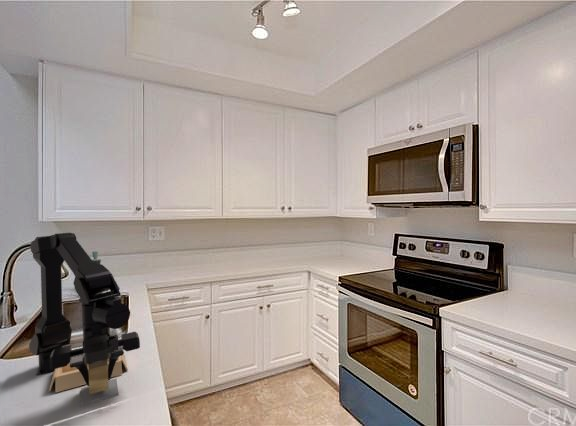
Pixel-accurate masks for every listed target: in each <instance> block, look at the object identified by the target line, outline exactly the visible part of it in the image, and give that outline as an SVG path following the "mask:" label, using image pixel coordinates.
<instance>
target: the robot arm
mask: <svg viewBox="0 0 576 426" xmlns="http://www.w3.org/2000/svg"><path fill="white" fill-rule="evenodd" d="M29 247H30V251H31V254H32V258H33V259H34V261H35V262H36V263H37V265H39V266H40V288H41V291H40V292H41V317H40V318H39V320H38V321H37V323H36V324H35V326H34V333H33V336H32V338H31V340H30V342H29V344H28V346H29V353H31V354H32V355H35V356H38V367H37V370H36V373H35V375H36V376H40V375H44V374H48V373H51V372H52V373H54V370H55V369H56V368H57V369H58V368H61V367H65V366H67V365H68V364H69V363H70V368H73V367H76V368H77V369H78V370H79V371H80V372H81V374H82V376H83V378H84V380H85V382H86V384H85V385H86V387H87V386H89V372H88V367H87V364H92V363H94V362H98V361H105V360H107V359H108V358H109V364H108V381H109V380H111V378H112V377H111V375H112V372H113V369H114V366H115V363H116V361H117V359H118V358H119V356H122V355H123V354H125V352H130V351H134V350H138V349H140V347H141V341H140V340H141V339H140V336H139V333H138V332H137V331H131V332H126V333H122V334H120V335H121V336H120V339H119V334H114V335H111V330H112V329H113V330H118V329H121V328H123V327H124V326H125V325H126V324H127V323H128V321H129V320H130V317H131V309H130V308H129V306H128V305H126V304H125V303H122V298H121V297H120V296H121V295H122V294H121V291H120V289H121V288H120V287H119V284H118V283H117V281H116V280H115V277H114V275H113V273H112V272H111V271H110V270H109V269H108V268H107V267H105V265H103V264H101V263H100V264H98V263H95V262H93V261H92V259H93V258H91V256H90V255H89V254H88V253H87V252H86V250H85V249H84V248H83V246H82V245H81V244H80V243H79V241H78V240H77V236H76V235H75V233H74V232H62V233H61V232H59V233H55V234H52V235H46V236H45V235H44V236H37V237H35V239H34V240H32V241H31V242H30V245H29ZM64 262H65V264H66V265H67V266H68V268H69V269H70V270H71V271H72V273H73V275H74V280H73V286H74V290H75V292H76V294H77V296H79V298H78V302H79V303H81V315H82V316H81V317H82V338H83V339H82V340H83V341H82V347H79V348H74V349H73V347H72V345H71V339H72V330H73V329H72V327H71V321H70V320H69V319H67V318H66V317H65V315H63V289H62V287H63V285H62V283H63V282H62V280H63V279H62V266H63V264H64ZM101 292H103V293H101ZM97 293H100V294H97ZM124 351H125V352H124Z"/></svg>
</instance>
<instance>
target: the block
mask: <svg viewBox="0 0 576 426" xmlns="http://www.w3.org/2000/svg"><path fill="white" fill-rule="evenodd" d="M88 371H89V394H93V393H97V392H100V391H104V390H107V389H109V383H108V381H109V380H108V362H107V360H105V361H98V362H94V363H92V364H89V368H88Z"/></svg>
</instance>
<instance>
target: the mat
mask: <svg viewBox="0 0 576 426" xmlns="http://www.w3.org/2000/svg"><path fill="white" fill-rule="evenodd" d="M108 383H109V389H107V390H104V391H100V392H97V393H93V394H89V386H87V385H86V386H84V387H80V400H79V407H80V408H81V407H84V406H87V405H90V404H94V403H99V402H100V401H103V400H107V399H110V398H113V397H117V396H119V388H118V380H117V377H116V378H113V379H110V380H108Z"/></svg>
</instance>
